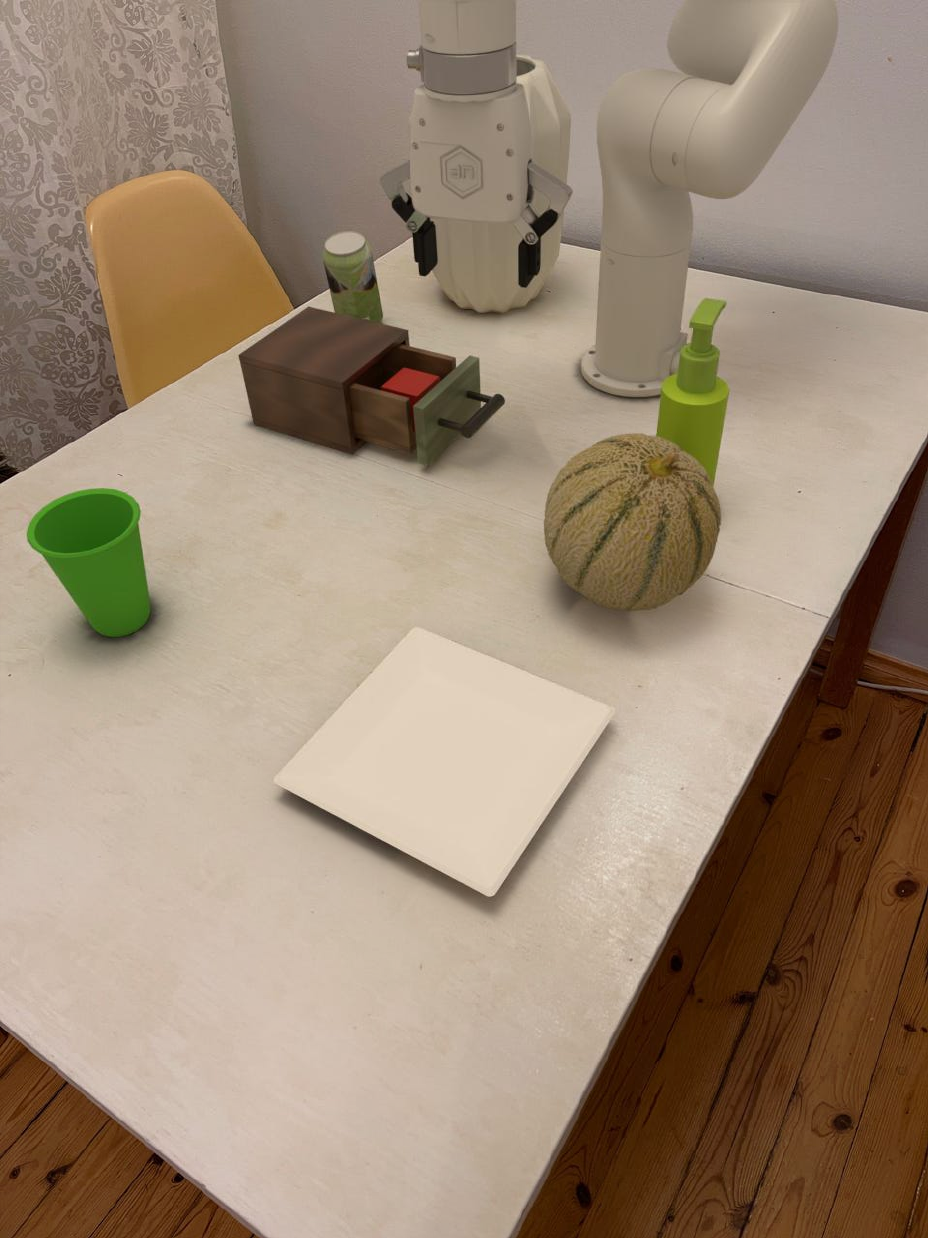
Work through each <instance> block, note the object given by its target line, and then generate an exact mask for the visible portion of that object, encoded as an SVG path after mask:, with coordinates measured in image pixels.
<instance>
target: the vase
mask: <svg viewBox="0 0 928 1238" xmlns="http://www.w3.org/2000/svg"><path fill="white" fill-rule="evenodd" d="M516 72H517V79H516V81H517V83H519V84H522V85H523V86H524V90H525V95H526V100H527V105H528V111H529V118H530V125H531V134H532V144H533V157H534V164H536V165H537V166H539V167H540V168H542V169H543V170H545V171H546V172H548V173H550V174H551V175H553V176H554V177H556V178H557V179H559V180H560V181H562V182H564V183H565V184H568V183H567V182H568V173H569V172H568V171H569V162H570V161H569V159H570V146H571V145H570V144H571V143H570V142H571V127H572V116H571V115H572V114H571V112H570V110H569V107H568V105H567V104H566V102H565V100H564V99H565V98H564V97H563V95H562V93H561V91H560V89H559V87H558V85H557V82H556V81H555V78H554V76H553V74H552V73H551V71H550V68H549V66H548V65H547V63H546V62H545V61H543V60H540V59H536V58H535V59H534V58H532V56H531V55H529V54H516ZM407 120H408V121H407V122H408V136H409V140H410V139H411V120H412V111H411V112H410V114H409V117H408V118H407ZM531 204H532V205H533V207H534V208H535V210H536V211H537V212H538V214H539V215H540V216H541V215H542V214H543V213H544V212H545V211H546V210H547V208H548V206H549V204H550V199H549V197H548V196H546V195H545V194H543V193H541V192H540V191H538V190H537V189H535V188H534V197H533V200H532V202H531ZM564 217H565V209H564V210H563V212H562V214H561V216H560V217H559V219H558V220H557V222H556V223H555V224H554V225H553V226H552V227H551V228H550V229H549V230H548V231H547V232H546V233H545V234H544V235H543V236H542V237H541V266H540V271H539V273H538V275H537V276H536V275H535V276H534V278H533V279H532V281H531V282H530V283H529V285H528V286H527V288H523V287H520V286H519V285H518V246H519V244H520V242H521V241H522V240H523V238H522V236H521V235H520V234H519V232H518V231H517V230H516V228H515V227H514V226H513V224H512V223H510V224H503V225H502V224H486V223H475V222H465V221H454V220H444V219H436V218H430V221H434V224H435V226H436V240H437V256H438V263H437V265H436V266H435V267H434V268H433V269H432V271H431V272H432V274H433V276H434V277H435V279H436V280H437V282H438V284H439V285H440V287H441V289H442V290H443V292H444V293H445V295H446V296H447V297H448V299H449V300H450V301H452V302H454V303H455V304H456V305H457V306H458V307H459V308H460V309H462V310H463V309H464V310H472V311H475V312H476V313H479V314H485V313H489V312H494V313H499V314H500V313H506V312H508V311H510V310H512V309H522V308H524V307H525V306H527V304H528V303H529V301H532V300H535V299H536V298H537V297H538V295H539V294H540V292H541V290H542V288H543V287H544V285H545V283H546V281H547V279H548V277H549V276H550V273H551V271H552V269H553V268H554V266H555V264H556V263H557V260H558V258H559V255H560V251H561V250H560V249H561V242H562V232H563V224H564Z"/></svg>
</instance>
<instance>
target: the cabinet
mask: <svg viewBox="0 0 928 1238" xmlns="http://www.w3.org/2000/svg"><path fill="white" fill-rule="evenodd" d="M399 344H403V345H407V346H411V344H410V334H409V329H406V328H401V327H398V326H394V325H389V324H385V323H382V322H381V323H376V322H372V321H368V320H364V319H359V318H355V317H351V316H347V315H342V314H338V313H335V312H333V311H329V310H325V309H321V308H316V307H314V306H313V307H312V306H307V307H306V308H304V309H303V310H301V311H300V312H298V313H297V314H295V315H294V316H293V317H291V318H290V319H288V320H287V321H285V322H284V323H282V324H281V325H280V326H278V327H277V328H275V329H274V330H272V331H270V332H269V333H268V334H267V335H265V336H263V337H262V338H261V339H259V340H258V341H256V342H255V343H253V344H252V345H250V346H249V347H248V348H246V349H245V350H243V351H242V352H241V353H239V354H238V355H237V356H238V360H239V364H240V368H241V373H242V378H243V382H244V387H245V392H246V396H247V401H248V405H249V409H250V414H251V418H252V422H253V425H255V426H258V427H262V428H265V429H267V430H271V431H274V432H278V433H281V434H285V435H288V436H291V437H295V438H298V439H301V440H304V441H308V442H311V443H314V444H318V445H321V446H324V447H328V448H331V449H334V450H338V451H341V452H344V453H347V454H350V455H353V454H354V453H355V452H357V451H358V450H359V449H360V448H362V447H363V445H365V444H366V443H367V442H368V441H364V440H361V439H358V438H355V437H354V430H353V423H352V416H351V409H350V402H349V395H348V388H347V386H348V385H350V384H351V383H352V382H353V381H355V380H356V379H357V378H358V377H360V376H361V375H362V374H363V373H364V372H366V371H367V370H368V369H369V368H371V367H372V366H373V365H374V364H376V363H377V362H378V361H379V360H380V359H382V358H383V357H384V356H385V355H387V354H388V353H389V352H390V351H392V350H393V349H394V348H395V347H397V346H398V345H399Z"/></svg>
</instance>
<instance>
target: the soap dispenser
mask: <svg viewBox="0 0 928 1238" xmlns="http://www.w3.org/2000/svg"><path fill="white" fill-rule="evenodd" d="M726 307H727V300H723V299H715V298H708V297H704V298H703V299H702V300H701V301H700V302H699V304H698V305H697V306H696V308H695V310H694V312H693V314H692V316H691V318H690V320H689V323H688V328H689V329H692V334H691V340H690V342H689V343H688V342H687V344H686V345H684V346H683V347H682V348H681V350H680V357H679V365H678V373H676V374H673V375H671V376H669V377H667V378H666V379H665V380H664V381H663V383H662V387H661V395H659V396H660V397H659V406H658V407H659V408H658V414H657V415H658V417H657V423H656V424H657V426H656V433H655V434H656V435H655V437H660V438H663V439H666V440H668V441H670V442H673V443H674V444H676V445H677V446H679V447H680V448H681V449H683V450H684V451H685V452H687V453H688V454H689V455H691V456H692V457H694V458H695V459H696V460H698V462H699V463H700V464H701V465H702V467H703V468H704V469H705V470H706V472H707V474H708V475H709V477H710V479H711V482H712V484H713V487H714V486H715V479H716V474H717V469H718V464H719V463H718V462H719V456H720V451H721V443H722V438H723V432H724V425H725V420H726V413H727V407H728V400H729V395H730V387H729V385H728V383H727V381H725V379H723V378H721V377H720V376H718V370H719V365H720V357H721V350H720V349H719V348H718V347H717V346H716V345H714V344H712V343H713V335H714V330H715V329H714V328H715V324H716V322H717V321H718V320H719V317H720V315H721V314H722V312H723V311H724V309H725V308H726ZM714 488H715V487H714Z"/></svg>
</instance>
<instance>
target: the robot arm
mask: <svg viewBox="0 0 928 1238" xmlns="http://www.w3.org/2000/svg"><path fill="white" fill-rule="evenodd" d="M418 12H419V13H418V14H419V16H418V17H419V28H420V29H419V30H420V42H421V45H419V46H418V48H416V50H415V49H409V50H408V51H407V54H406V65H407V68H408V69H410V70H416V71H417V72H420V82H421V83H422V84H421V85H419V86H417V87H416V88H415V89H414V92H413V98H412V99H413V100H412V108H411V112H412V120H411V139H410V138H409V144H410V145H409V159H407V160H406V161H404V162H403V163H401V164H398V165H397V166H395V167H393V168H391V169H389V170H387V171H386V172H385V173H384V174H382V175H381V177H380V178H379V183H380V185H381V187H382V188H383V190H384V193H385V194H386V196H387V198H388V200H390V202H391V208H392V210H393V211H394V212H395V213H396V214H397V215H398V217H400V218H401V220H402V221H403V222H404V223H405V227H406V230H407V231H408V232H410V233H411V236H412V247H413V248H412V249H413V260H414V262H415V263H417V266H418V267H417V268H418V275H419V276H420V277H427V276H429V275H430V273H431V272H432V269H433V268H434V267H435V266H436V265H437V263H438V256H437V240H436V226H435V224H434V221H430V218H436V219H444V220H454V221H465V222H475V223H486V224H502V225H503V224H510V223H512V224H513V226H514V227H515V228H516V230H517V231H518V232H519V234H520V235H521V236H522V238H523V240H522V241H521V242H520V244H519V246H518V285H519V286H520V287H523V288H527V286H528V285H529V283H530V282H531V281H532V279H533V278H534V276H535V275H536V276H537V275H538V273H539V271H540V266H541V237H542V236H543V235H544V234H545V233H546V232H547V231H548V230H549V229H550V228H551V227H552V226H553V225H554V224H555V223H556V222H557V220H558V219H559V217H560V216H561V214H562V212H563V210H564V211H565V208H566V207H567V205H568V203H569V201H570V199H571V197H572V196H573V188H572V187H571V186H570V185H568V183H566V184H565V183H564V182H562V181H560V180H559V179H557V178H556V177H554V176H553V175H551V174H550V173H548V172H546V171H545V170H543V169H542V168H540V167H539V166H537V165H536V164H534V157H533V144H532V134H531V125H530V118H529V111H528V105H527V100H526V95H525V90H524V86H523V85H522V84H519V83H517V81H516V79H517V72H516V55H517V0H418ZM838 12H839V11H838V8H837V3H836V2H835V0H683V1H682V2H681V4H680V5H679V7H678V10H677V11H676V13H675V14H674V17H673V19H672V22H671V24H670V27H669V30H668V34H667V41H666V44H667V45H666V46H667V53H668V56H669V59H670V61H671V62H672V64H673V65H674V66H675V68H676V69H677V70H679V71H680V72H677V71H673V70H668V69H661V68H653V67H652V68H651V67H650V68H638V69H635V70H631V71H629V72H626V73H624V74H622V75H621V76H620V77H619V78H617V79H616V80H615V81H614V82H613V83H612V84H611V85H610V86H609V87H608V89H607V91H606V92H605V94H604V96H603V98H602V100H601V103H600V106H599V109H598V114H597V119H596V144H597V152H598V160H599V167H600V175H601V184H602V185H601V187H602V188H601V189H602V216H601V217H602V218H601V222H602V223H601V238H600V254H599V270H598V271H599V272H598V289H597V291H598V292H597V309H596V327H595V343H594V345H592V346H591V347H590V348H588V349H587V350H586V351H585V353H584V354H583V355H582V356H581V360H580V361H581V362H580V372H581V375H582V376H583V379H584V380H585V381H586V382H587V383H588V384H589V385H591V386H592V387H594V388H595V389H597V390H599V391H602V392H604V393H608V394H610V395H614V396H620V397H627V398H628V397H629V398H648V397H655V396H661V387H662V383H663V381H664V380H665V379H666V378H667V377H669V376H671V375H673V374H676V373H678V365H679V357H680V350H681V348H682V347H683V346H684V345H686V344H688V337H689V334H688V332H682V331H681V329H682V323H683V321H682V320H683V314H684V304H685V298H686V297H685V295H686V287H687V279H688V271H689V264H690V263H689V262H690V254H691V245H692V241H693V231H694V210H693V204H692V200H691V195H690V193H693V194H695V195H699V196H702V197H705V198H710V199H714V200H728V199H732V198H735V197H737V196H739V195H741V194H742V193H743V192H745V191H746V190H747V189H748V188H749V187H751V185H752V184H753V183H754V182H755V181H756V179H757V178H758V177H759V176H760V175H761V173H762V171H764V168H765V167H766V166H767V164H768V162H769V161H770V160H771V158H772V156H773V155H774V154H775V152H776V151H777V149H778V147H779V146H780V145H781V143H782V141H783V140H784V138H785V136H786V135H787V134H788V132H789V130H790V129H791V127H792V126H793V124H794V123H795V121H796V120H797V118H798V117H799V115H800V114H801V113H802V111H803V109H804V107H806V104H807V103H808V102H809V100H810V99H811V97H812V96H813V94H814V92H815V91H816V88H817V87H818V85H819V83H820V81H821V80H822V78H823V77H824V75H825V72H826V70H827V68H828V66H829V63H830V61H831V58H832V56H833V52H834V48H835V44H836V41H837V37H838V31H839V30H838V29H839V28H838V27H839V13H838ZM408 180H410V181H409V182H410V194H408V193H407V192H406V191H405V187H404V185H403V183H404V182H406V181H408ZM534 188H535V189H537V190H538V191H540V192H541V193H543V194H545V195H546V196H548V197H549V199H550V204H549V206H548V208H547V210H546V211H545V212H544V213H543V214H542V215H541V216H540V215H539V214H538V212H537V211H536V210H535V208H534V207H533V205H532V204H531V202H532V200H533V197H534Z"/></svg>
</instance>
